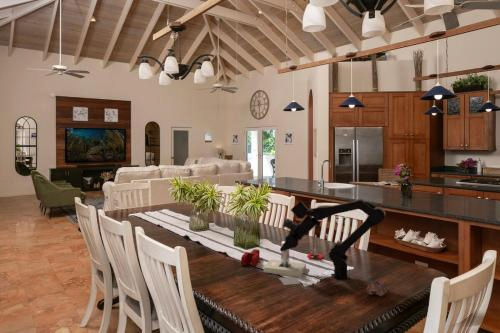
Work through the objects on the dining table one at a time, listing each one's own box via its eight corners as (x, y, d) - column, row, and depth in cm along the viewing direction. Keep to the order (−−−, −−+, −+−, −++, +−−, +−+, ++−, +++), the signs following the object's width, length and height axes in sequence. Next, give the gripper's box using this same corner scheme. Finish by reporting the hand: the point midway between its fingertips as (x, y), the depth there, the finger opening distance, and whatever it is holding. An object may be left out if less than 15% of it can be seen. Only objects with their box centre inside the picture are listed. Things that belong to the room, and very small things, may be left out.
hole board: (305, 268, 173) (305, 263, 172) (301, 277, 161) (301, 271, 161) (270, 264, 178) (270, 259, 178) (263, 272, 167) (263, 267, 167)
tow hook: (307, 255, 195) (307, 259, 186) (307, 231, 194) (307, 235, 185) (322, 255, 193) (323, 260, 184) (323, 232, 193) (323, 236, 184)
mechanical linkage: (254, 268, 174) (254, 258, 173) (241, 266, 176) (241, 256, 176) (263, 258, 189) (263, 248, 189) (251, 256, 191) (251, 247, 191)
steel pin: (288, 272, 167) (288, 243, 167) (280, 271, 168) (280, 242, 168) (289, 269, 171) (289, 241, 170) (281, 268, 172) (281, 240, 171)
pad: (301, 283, 154) (301, 283, 154) (284, 285, 152) (284, 284, 152) (295, 276, 162) (295, 276, 162) (278, 278, 160) (278, 278, 160)
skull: (375, 287, 150) (376, 272, 150) (393, 292, 145) (394, 277, 145) (362, 295, 142) (362, 280, 142) (380, 301, 137) (381, 286, 136)
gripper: (296, 210, 176) (274, 230, 180) (290, 217, 158) (266, 240, 162) (312, 226, 174) (289, 246, 178) (308, 236, 156) (283, 258, 160)
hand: (282, 247), depth 169 cm, fingers open, 9 cm apart
